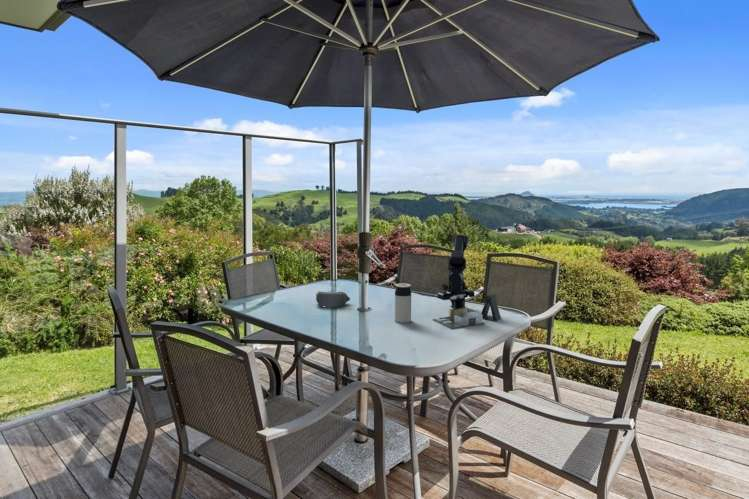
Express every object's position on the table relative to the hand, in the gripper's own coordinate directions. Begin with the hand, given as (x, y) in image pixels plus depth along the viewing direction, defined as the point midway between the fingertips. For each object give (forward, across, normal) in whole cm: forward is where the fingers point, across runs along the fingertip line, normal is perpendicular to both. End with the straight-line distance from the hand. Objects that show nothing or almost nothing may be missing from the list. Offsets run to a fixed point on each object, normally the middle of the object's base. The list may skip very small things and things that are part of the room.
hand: (455, 311), depth 217 cm
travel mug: (+4, +26, -7) cm, 27 cm away
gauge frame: (+4, +2, +6) cm, 7 cm away
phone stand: (+4, -16, +7) cm, 18 cm away
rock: (+4, +48, -51) cm, 70 cm away
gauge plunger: (+3, +3, +5) cm, 6 cm away
